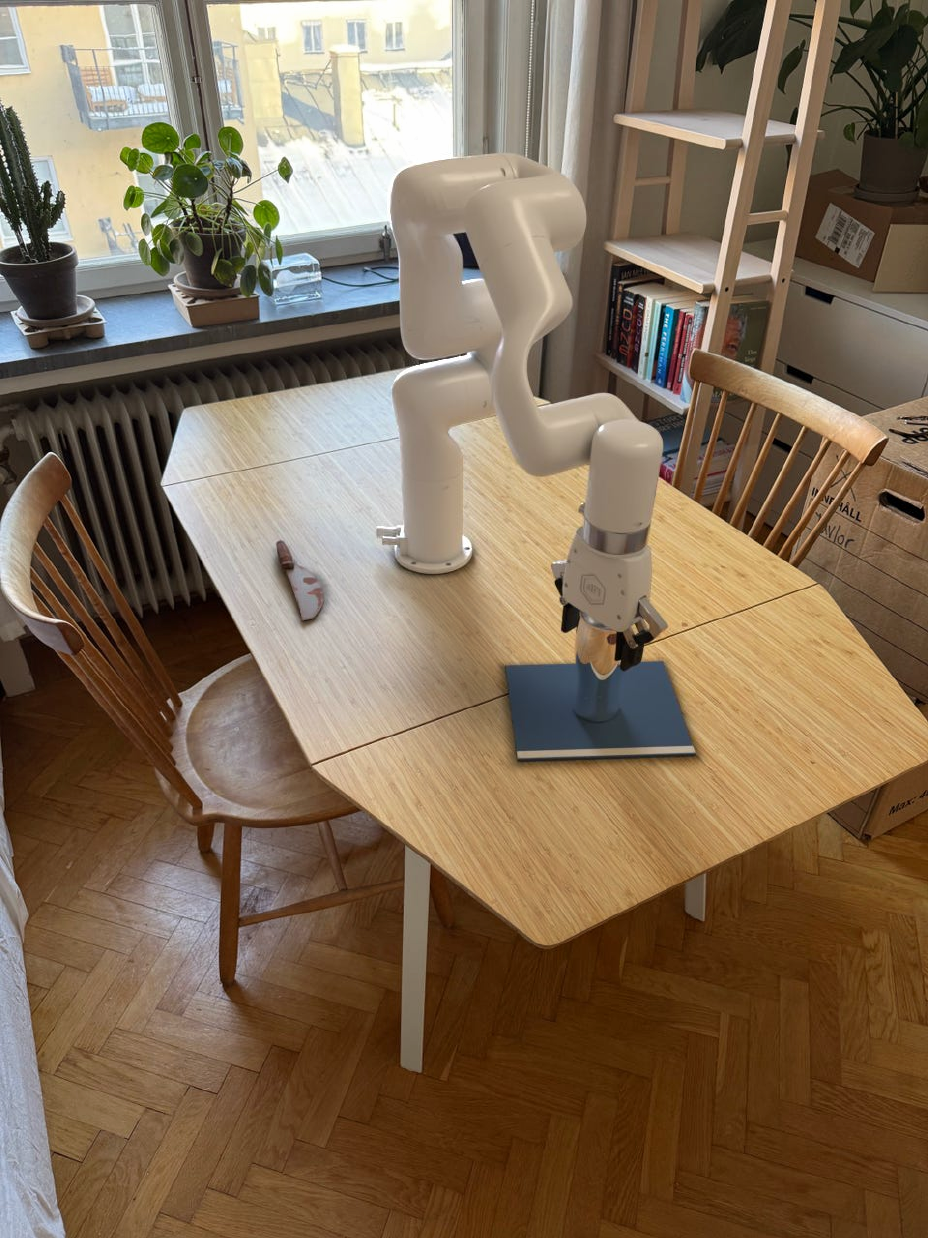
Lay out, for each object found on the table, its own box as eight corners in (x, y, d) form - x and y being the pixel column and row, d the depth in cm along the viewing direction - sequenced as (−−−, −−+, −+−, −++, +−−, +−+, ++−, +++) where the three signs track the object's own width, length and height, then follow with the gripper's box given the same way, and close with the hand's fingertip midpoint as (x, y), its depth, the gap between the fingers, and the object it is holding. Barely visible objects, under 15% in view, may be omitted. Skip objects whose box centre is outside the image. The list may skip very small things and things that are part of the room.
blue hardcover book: (517, 761, 112) (517, 759, 112) (505, 667, 127) (505, 665, 127) (695, 756, 113) (696, 753, 113) (662, 663, 128) (663, 660, 128)
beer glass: (564, 690, 122) (573, 598, 113) (615, 687, 123) (628, 596, 114) (573, 726, 117) (583, 632, 108) (627, 723, 117) (642, 630, 108)
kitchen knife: (333, 613, 136) (299, 616, 134) (332, 622, 137) (299, 625, 135) (305, 536, 151) (274, 538, 149) (304, 545, 152) (274, 547, 150)
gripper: (537, 510, 107) (529, 626, 117) (655, 575, 97) (634, 695, 107) (581, 489, 111) (569, 603, 121) (698, 550, 101) (674, 668, 111)
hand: (599, 646), depth 114 cm, fingers open, 9 cm apart
